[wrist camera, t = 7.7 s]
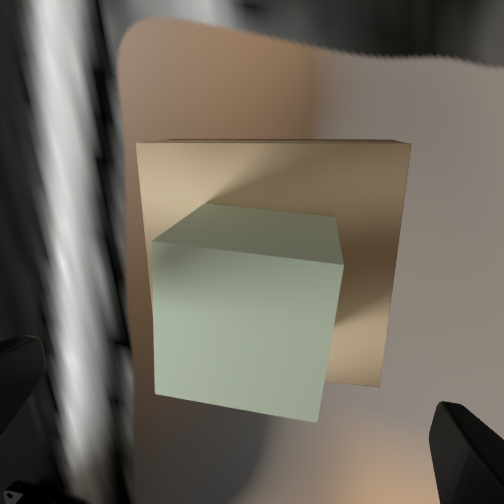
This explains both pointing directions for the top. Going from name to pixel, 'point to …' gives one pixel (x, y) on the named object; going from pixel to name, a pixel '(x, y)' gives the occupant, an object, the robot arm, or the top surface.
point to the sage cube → (246, 308)
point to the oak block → (299, 201)
